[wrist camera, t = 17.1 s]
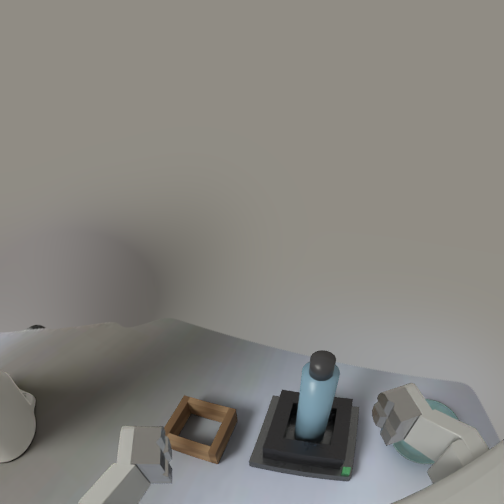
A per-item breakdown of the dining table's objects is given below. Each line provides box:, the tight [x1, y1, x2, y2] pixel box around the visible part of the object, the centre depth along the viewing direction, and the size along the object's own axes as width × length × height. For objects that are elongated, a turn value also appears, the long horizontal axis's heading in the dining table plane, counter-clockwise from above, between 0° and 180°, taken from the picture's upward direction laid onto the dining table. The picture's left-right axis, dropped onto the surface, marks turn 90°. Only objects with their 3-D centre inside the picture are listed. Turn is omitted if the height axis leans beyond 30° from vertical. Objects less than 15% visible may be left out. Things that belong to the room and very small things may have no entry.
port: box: [249, 390, 359, 481], centre depth 35 cm, size 13×12×4 cm
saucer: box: [393, 399, 459, 464], centre depth 33 cm, size 12×12×2 cm
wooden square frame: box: [164, 396, 237, 464], centre depth 37 cm, size 8×8×3 cm
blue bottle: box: [294, 351, 340, 443], centre depth 33 cm, size 4×4×15 cm
